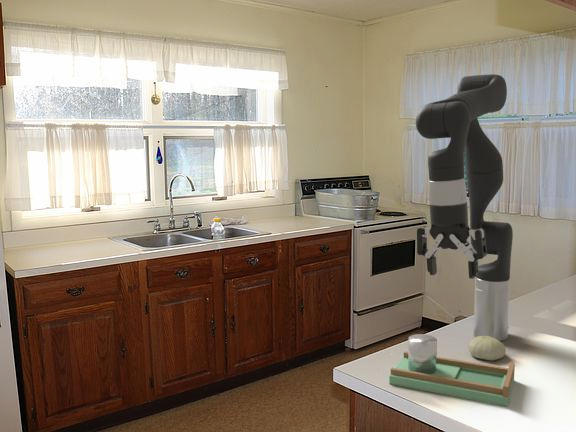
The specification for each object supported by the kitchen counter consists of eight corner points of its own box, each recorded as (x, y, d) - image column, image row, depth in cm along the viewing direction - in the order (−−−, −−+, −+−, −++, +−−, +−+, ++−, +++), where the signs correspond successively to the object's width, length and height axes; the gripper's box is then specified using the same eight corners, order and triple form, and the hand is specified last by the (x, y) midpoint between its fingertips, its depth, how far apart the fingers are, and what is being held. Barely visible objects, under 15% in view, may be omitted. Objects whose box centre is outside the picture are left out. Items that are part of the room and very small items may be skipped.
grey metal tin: (412, 361, 137) (412, 332, 136) (439, 366, 134) (439, 336, 133) (405, 371, 131) (405, 341, 130) (432, 376, 128) (433, 345, 127)
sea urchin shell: (495, 340, 150) (504, 327, 144) (503, 368, 145) (513, 356, 139) (462, 341, 150) (470, 328, 143) (468, 369, 145) (477, 357, 139)
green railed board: (405, 361, 142) (405, 345, 141) (514, 380, 130) (514, 362, 129) (389, 383, 129) (389, 365, 129) (507, 406, 117) (508, 387, 117)
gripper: (488, 197, 112) (492, 273, 115) (423, 197, 121) (428, 268, 124) (476, 204, 106) (480, 284, 109) (408, 203, 115) (413, 278, 118)
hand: (452, 275), depth 116 cm, fingers open, 8 cm apart
